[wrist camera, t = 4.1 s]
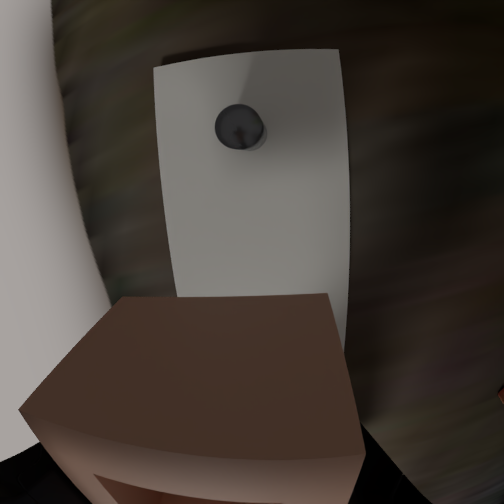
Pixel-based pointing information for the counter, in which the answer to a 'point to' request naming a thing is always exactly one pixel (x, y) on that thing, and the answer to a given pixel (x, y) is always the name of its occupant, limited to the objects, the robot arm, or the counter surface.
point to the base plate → (257, 177)
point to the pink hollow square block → (205, 404)
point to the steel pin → (240, 128)
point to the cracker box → (501, 395)
